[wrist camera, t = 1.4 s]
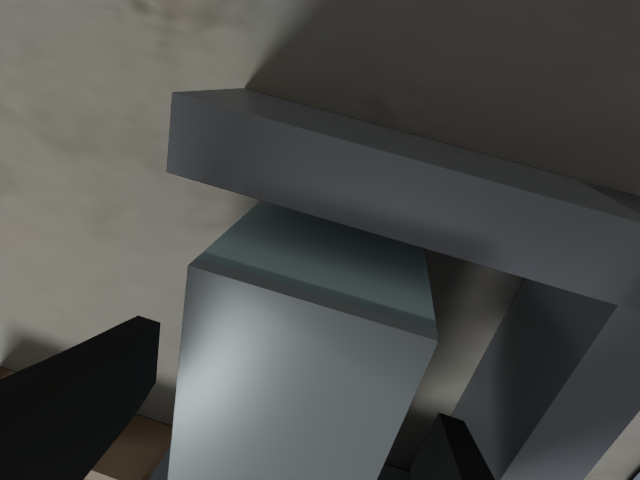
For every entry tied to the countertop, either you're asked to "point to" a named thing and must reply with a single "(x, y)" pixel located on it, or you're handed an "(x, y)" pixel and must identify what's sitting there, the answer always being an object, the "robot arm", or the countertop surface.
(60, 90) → the countertop surface
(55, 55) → the countertop surface
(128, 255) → the countertop surface
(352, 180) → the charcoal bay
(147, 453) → the walnut tray
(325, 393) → the pale grey block
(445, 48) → the countertop surface
